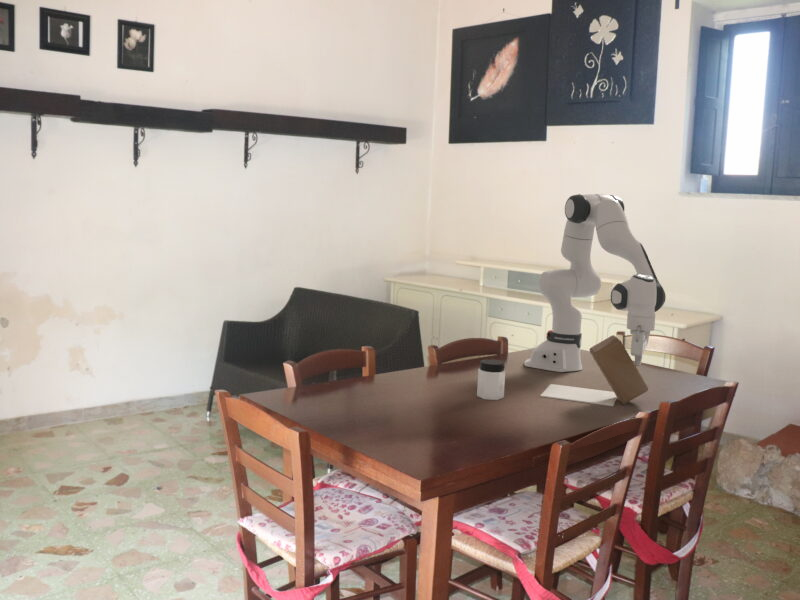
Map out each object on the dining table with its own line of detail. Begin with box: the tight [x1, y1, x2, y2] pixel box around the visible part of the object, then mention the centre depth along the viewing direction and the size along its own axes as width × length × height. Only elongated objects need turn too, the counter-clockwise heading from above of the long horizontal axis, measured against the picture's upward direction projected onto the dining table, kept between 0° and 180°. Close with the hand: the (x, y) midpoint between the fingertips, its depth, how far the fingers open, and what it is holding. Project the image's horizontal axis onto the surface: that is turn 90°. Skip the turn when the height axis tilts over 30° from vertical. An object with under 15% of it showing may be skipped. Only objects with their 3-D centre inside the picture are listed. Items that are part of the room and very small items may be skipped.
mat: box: [540, 383, 618, 407], centre depth 275 cm, size 24×18×1 cm
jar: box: [476, 358, 506, 401], centre depth 267 cm, size 9×8×12 cm
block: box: [589, 335, 649, 405], centre depth 267 cm, size 10×10×20 cm
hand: (637, 365), depth 266 cm, fingers closed
